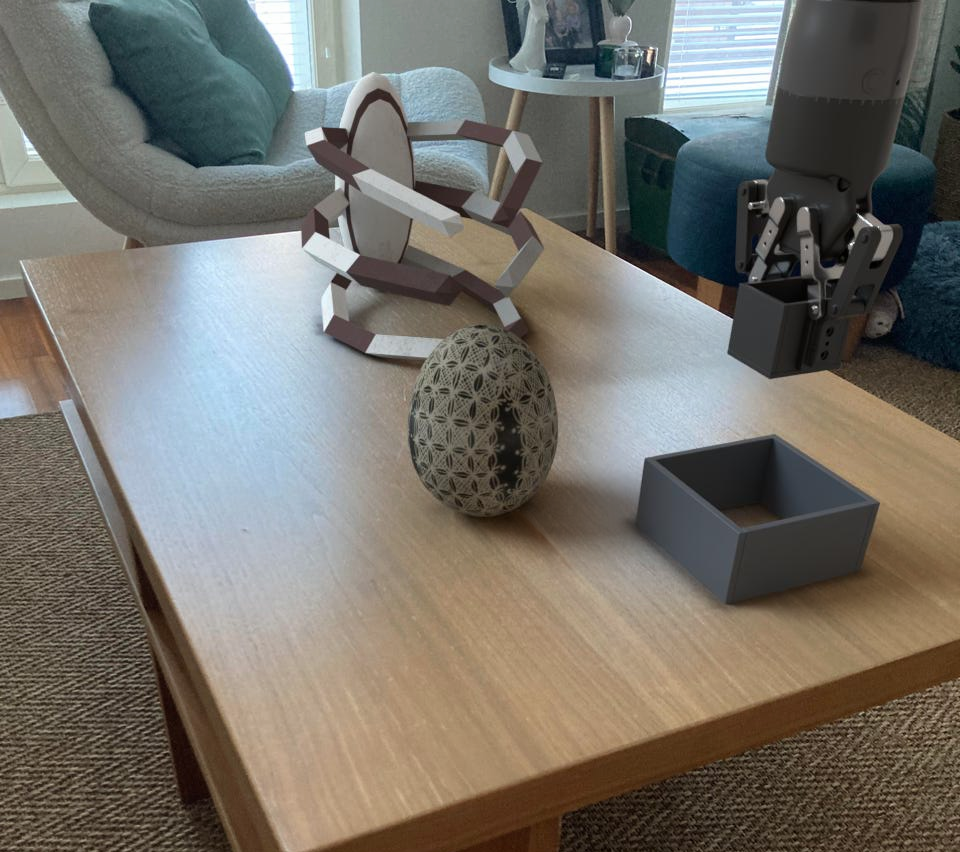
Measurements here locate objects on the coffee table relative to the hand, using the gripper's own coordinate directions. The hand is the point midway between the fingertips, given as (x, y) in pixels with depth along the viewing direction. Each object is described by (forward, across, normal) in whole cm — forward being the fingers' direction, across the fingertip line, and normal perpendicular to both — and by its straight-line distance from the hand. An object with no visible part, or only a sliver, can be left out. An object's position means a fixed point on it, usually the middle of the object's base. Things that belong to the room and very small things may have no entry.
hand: (784, 355), depth 72 cm
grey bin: (+15, -2, +1) cm, 15 cm away
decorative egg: (+15, +12, +17) cm, 26 cm away
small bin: (0, 0, 0) cm, 0 cm away
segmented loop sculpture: (+15, +54, +7) cm, 57 cm away
